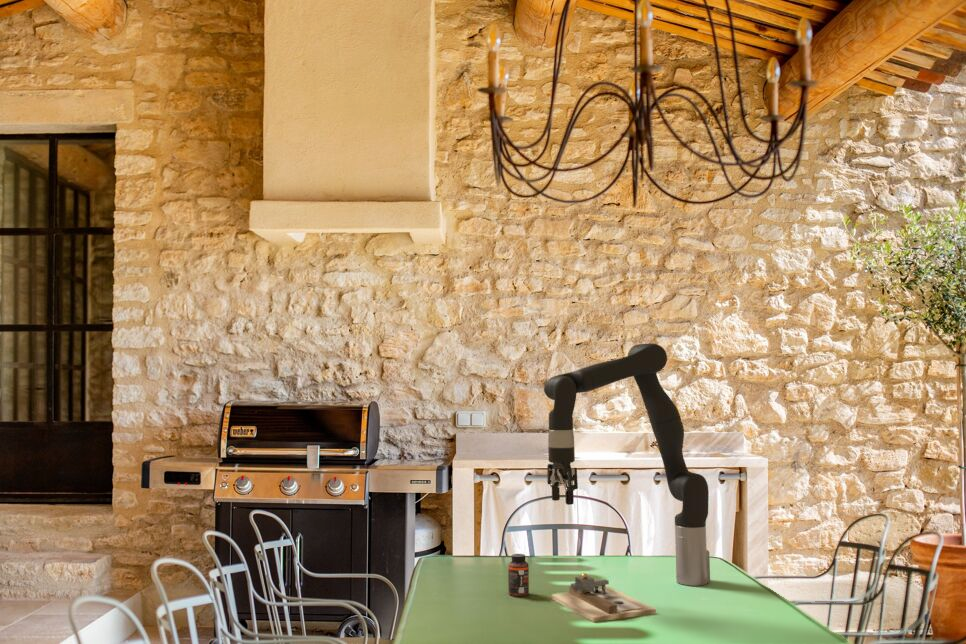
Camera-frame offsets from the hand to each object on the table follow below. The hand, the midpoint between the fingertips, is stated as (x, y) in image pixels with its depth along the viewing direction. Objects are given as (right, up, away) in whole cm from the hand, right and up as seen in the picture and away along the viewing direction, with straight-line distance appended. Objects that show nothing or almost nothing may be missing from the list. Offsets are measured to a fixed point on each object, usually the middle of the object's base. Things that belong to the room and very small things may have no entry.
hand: (562, 502), depth 229 cm
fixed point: (+7, -25, -2) cm, 26 cm away
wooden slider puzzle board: (+10, -26, -10) cm, 30 cm away
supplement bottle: (-12, -28, +3) cm, 30 cm away
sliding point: (+8, -25, -6) cm, 27 cm away
